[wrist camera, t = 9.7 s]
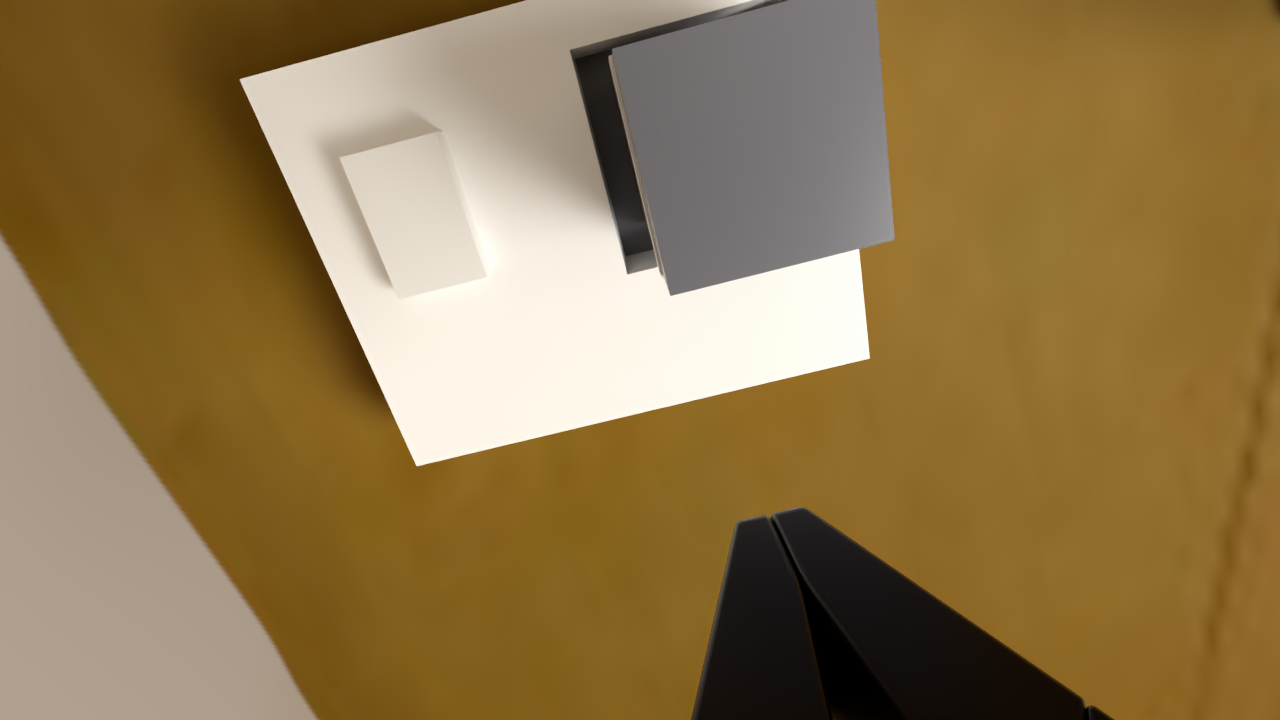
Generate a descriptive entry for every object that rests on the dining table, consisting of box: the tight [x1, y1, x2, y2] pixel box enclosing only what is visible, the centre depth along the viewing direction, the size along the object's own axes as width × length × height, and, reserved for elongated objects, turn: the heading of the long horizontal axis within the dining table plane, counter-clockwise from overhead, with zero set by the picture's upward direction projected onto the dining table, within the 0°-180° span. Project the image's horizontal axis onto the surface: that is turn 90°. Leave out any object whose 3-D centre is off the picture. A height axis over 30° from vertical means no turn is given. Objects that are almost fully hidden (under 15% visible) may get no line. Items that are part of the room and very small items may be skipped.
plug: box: [609, 0, 895, 296], centre depth 13 cm, size 4×4×8 cm
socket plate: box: [239, 0, 870, 466], centre depth 16 cm, size 14×11×3 cm
